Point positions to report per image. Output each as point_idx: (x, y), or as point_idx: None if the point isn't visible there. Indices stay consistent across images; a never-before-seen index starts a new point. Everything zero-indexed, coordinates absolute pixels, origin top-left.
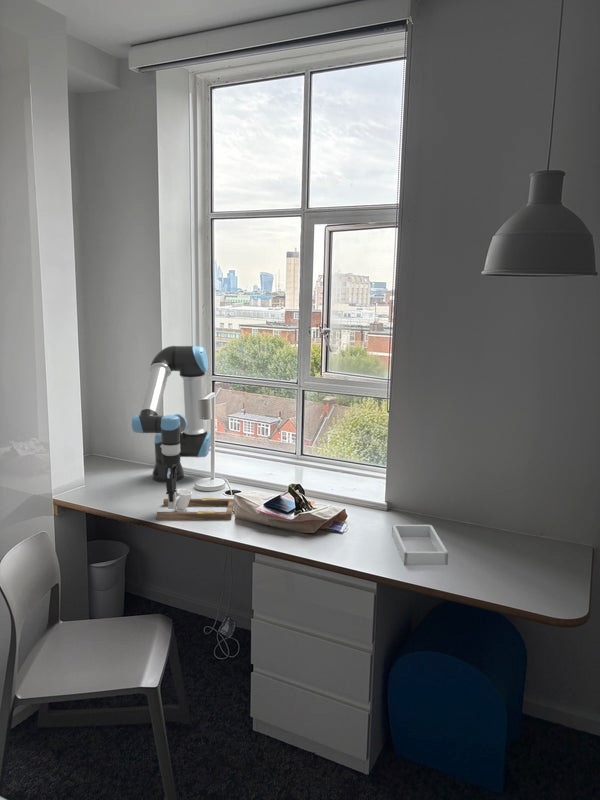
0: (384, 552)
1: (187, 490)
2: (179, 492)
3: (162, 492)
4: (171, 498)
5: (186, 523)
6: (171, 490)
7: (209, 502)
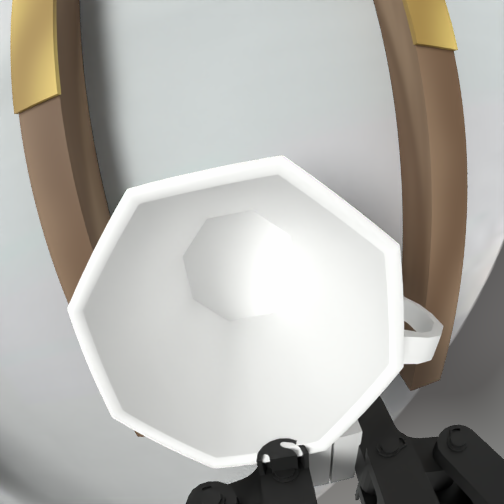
0: None
1: (87, 314)
2: (182, 403)
3: (13, 427)
4: (378, 406)
5: (484, 138)
6: (499, 468)
7: (65, 30)
